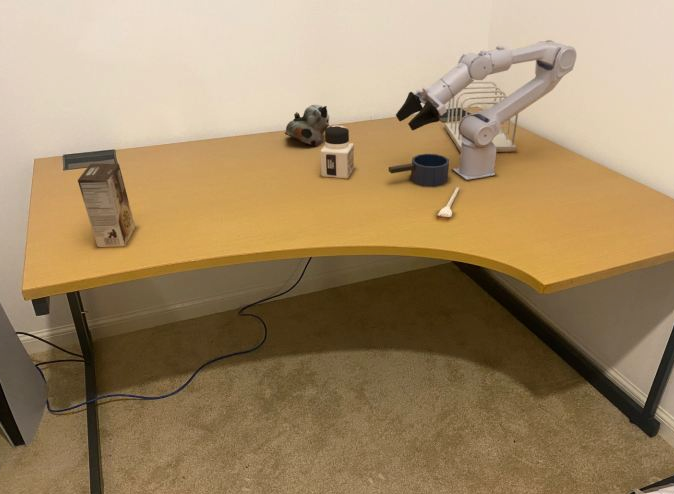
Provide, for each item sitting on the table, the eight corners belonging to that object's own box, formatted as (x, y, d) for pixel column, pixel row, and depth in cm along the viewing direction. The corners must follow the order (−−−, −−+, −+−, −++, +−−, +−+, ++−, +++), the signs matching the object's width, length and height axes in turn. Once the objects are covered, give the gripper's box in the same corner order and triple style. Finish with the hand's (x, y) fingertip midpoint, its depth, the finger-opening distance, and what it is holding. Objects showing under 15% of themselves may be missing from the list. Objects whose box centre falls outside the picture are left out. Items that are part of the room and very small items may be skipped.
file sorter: (515, 152, 177) (523, 101, 168) (460, 154, 175) (465, 102, 167) (493, 127, 198) (499, 80, 189) (444, 128, 196) (447, 81, 188)
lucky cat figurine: (286, 134, 190) (302, 94, 187) (319, 149, 192) (336, 110, 188) (279, 135, 176) (297, 92, 172) (315, 152, 177) (333, 109, 174)
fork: (464, 190, 153) (464, 184, 152) (447, 223, 137) (448, 216, 136) (452, 189, 153) (452, 182, 152) (434, 221, 138) (435, 214, 137)
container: (347, 179, 159) (347, 133, 152) (321, 176, 160) (319, 131, 153) (354, 168, 165) (353, 124, 158) (328, 166, 167) (326, 122, 159)
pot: (436, 170, 165) (437, 151, 162) (454, 183, 157) (455, 164, 154) (381, 179, 159) (382, 160, 156) (397, 193, 151) (397, 173, 148)
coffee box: (108, 228, 134) (90, 163, 125) (136, 227, 135) (120, 162, 126) (96, 247, 126) (75, 179, 118) (125, 246, 127) (107, 178, 118)
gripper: (426, 69, 149) (385, 102, 149) (453, 83, 138) (409, 119, 138) (437, 91, 153) (397, 123, 154) (464, 106, 142) (421, 140, 143)
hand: (403, 122), depth 146 cm, fingers open, 7 cm apart
